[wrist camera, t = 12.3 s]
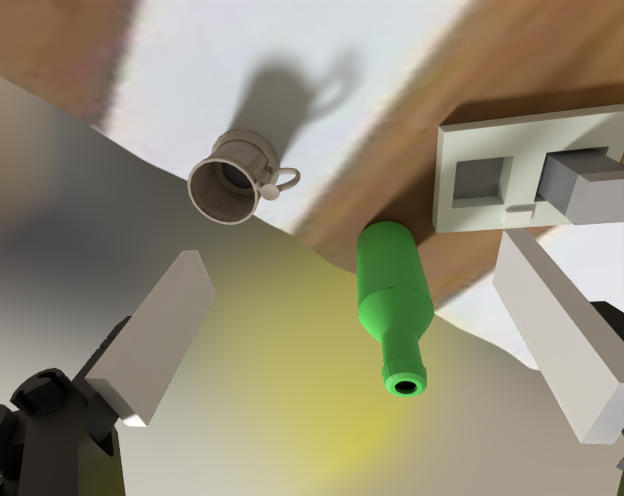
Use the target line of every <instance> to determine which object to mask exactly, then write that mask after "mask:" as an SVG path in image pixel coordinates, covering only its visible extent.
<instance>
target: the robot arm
mask: <svg viewBox="0 0 624 496" xmlns="http://www.w3.org/2000/svg"><path fill="white" fill-rule="evenodd" d="M492 283H493V285H494V287H495V289H496V290H497V292H498V294H499V296H500V298H501V299H502V301H503V303H504V305H505V307H506V309H507V310H508V312H509V314H510V316H511V318H512V319H513V321H514V323H515V325H516V327H517V329H518V330H519V332H520V334H521V336H522V338H523V339H524V341H525V343H526V345H527V347H528V349H529V350H530V352H531V354H532V356H533V358H534V359H535V361H536V363H537V365H538V367H539V369H540V370H541V372H542V374H543V376H544V378H545V379H546V381H547V383H548V385H549V387H550V389H551V390H552V392H553V394H554V396H555V398H556V399H557V401H558V403H559V405H560V407H561V408H562V410H563V412H564V414H565V416H566V417H567V419H568V421H569V423H570V425H571V427H572V428H573V430H574V432H575V434H576V436H577V438H578V439H579V441H580V443H590V444H613V443H614V442H615V441H616V440H617V438H618V437H619V436H620V435H621V433H622V434H623V435H624V313H623V312H622V311H620V310H619V309H617V308H615V307H614V306H612V305H610V304H609V303H607V302H606V301H596V302H589V301H588V300H587V299H586V298H585V297H584V295H583V294H582V293H581V292H580V291H579V290H578V289H577V287H576V286H575V285H574V284H573V283H572V282H571V280H570V279H569V278H568V277H567V276H566V275H565V274H564V272H563V271H562V270H561V269H560V268H559V267H558V265H557V264H556V263H555V262H554V261H553V260H552V259H551V257H550V256H549V255H548V254H547V253H546V252H545V250H544V249H543V248H542V247H541V246H540V245H539V244H538V242H537V241H536V240H535V239H534V238H533V237H532V235H531V234H530V233H529V232H528V231H527V230H526V229H525V228H520V229H505V230H504V231H503V236H502V240H501V245H500V250H499V254H498V259H497V264H496V268H495V273H494V278H493V282H492ZM215 295H216V293H215V290H214V288H213V286H212V283H211V281H210V279H209V276H208V274H207V271H206V269H205V267H204V264H203V262H202V260H201V258H200V255H199V252H198V250H191V251H182V252H181V254H180V255H179V256H178V257H177V259H176V260H175V261H174V263H173V264H172V265H171V266H170V268H169V269H168V270H167V272H166V273H165V274H164V276H163V277H162V278H161V280H160V281H159V282H158V283H157V285H156V286H155V287H154V289H153V290H152V291H151V292H150V294H149V295H148V296H147V298H146V299H145V300H144V302H143V303H142V304H141V305H140V307H139V308H138V309H137V311H136V312H135V313H134V314H133V316H128V317H126V318H125V319H124V320H123V321H121V322H120V323H119V324H118V325H116V326H115V328H114V329H113V330H112V331H111V333H110V334H109V335H108V336H107V339H105V340H104V341H103V343H102V344H101V345H100V348H99V349H97V350H96V351H95V353H94V354H93V355H92V356H91V358H90V359H89V360H88V361H87V363H86V364H85V366H83V368H82V369H81V370H80V371H79V373H78V374H77V375H76V376H75V378H74V379H73V380H72V381H70V380H69V378H68V377H67V376H66V375H65V374H64V373H63V372H62V371H61V370H59V369H57V368H52V369H46V370H44V371H41V372H38V373H37V374H35V375H33V376H32V377H30V378H28V379H27V380H26V381H25V382H24V383H22V384H21V385H20V386H19V387H18V389H17V390H16V391H15V392H14V393H13V395H12V397H11V399H10V402H11V403H13V404H14V405H15V406H16V407H17V408H19V409H20V410H18V411H14V412H12V411H11V410H10V409H9V408H7V407H6V406H5V405H2V404H0V496H126V495H125V487H124V479H123V471H122V463H121V456H120V448H119V440H118V432H117V430H116V428H115V427H114V424H115V423H116V421H117V420H118V418H119V417H120V418H121V419H122V420H123V422H124V423H125V424H126V425H127V426H141V427H147V426H148V424H149V422H150V420H151V418H152V416H153V415H154V413H155V411H156V409H157V407H158V405H159V403H160V401H161V399H162V397H163V395H164V393H165V391H166V390H167V388H168V386H169V384H170V382H171V380H172V378H173V376H174V374H175V372H176V370H177V368H178V366H179V364H180V363H181V361H182V359H183V357H184V355H185V353H186V351H187V349H188V347H189V345H190V343H191V341H192V339H193V337H194V336H195V334H196V332H197V330H198V328H199V326H200V324H201V322H202V320H203V318H204V316H205V314H206V312H207V310H208V309H209V307H210V305H211V303H212V301H213V299H214V297H215ZM616 467H617V468H619V469H620V470H622V469H623V468H624V457H623V459H622V460H621V461H620V462H619V464H618V465H617V466H616ZM617 496H624V469H623V473H622V477H621V481H620V485H619V489H618V493H617Z"/></svg>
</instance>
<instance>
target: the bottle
mask: <svg viewBox="0 0 624 496" xmlns="http://www.w3.org/2000/svg"><path fill="white" fill-rule="evenodd" d="M357 283H358V316H359V319H360V323H361V324H362V325H363V326H364V328H365V329H366V330H367V331H368V332H369V333H370V334H371V335H372V336H373V337H374V338H376V339H377V340H378V341H379V342H380V343H381V344H382V351H383V362H384V367H383V369H382V372H381V373H382V376H383V380H384V383H385V386H386V389H387V390H388V391H389V392H390V393H392V394H394V395H396V396H399V397H412V396H416V395H418V394H421V393H422V392H423V391H424V390H425V388H426V385H427V381H426V380H427V378H426V377H427V375H426V369H425V367H424V366H423V364H422V359H421V355H420V350H419V345H418V341H419V339H420V338H421V336H422V335H423V333H424V332H425V331H426V329H427V328H428V326H429V325H430V323H431V321H432V319H433V316H434V309H433V303H432V299H431V296H430V292H429V289H428V285H427V282H426V278H425V275H424V272H423V268H422V265H421V261H420V258H419V255H418V251H417V248H416V245H415V241H414V238H413V236H412V234H411V232H410V231H409V229H408V228H406V227H405V226H403V225H402V224H400V223H396V222H393V221H381V222H378V223H375V224H372V225H370V226H369V227H367V228H366V229H365V230H363V232H362V233H361V235H360V236H359V238H358V243H357Z"/></svg>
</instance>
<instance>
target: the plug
mask: <svg viewBox="0 0 624 496" xmlns="http://www.w3.org/2000/svg"><path fill="white" fill-rule="evenodd" d="M537 192H538V193H539V194H540V195H541V196H542V197H543V198H544V199H546V200H547V201H548V202H549V203H550V204H551V205H552V206H554V207H555V208H556V209H557V210H558V211H559V212H560V213H561V214H563V215H564V216H565V217H566V218H567V219H568V220H569V221H571V222H572V223H573V224H574V225H585V224H600V223H615V222H624V165H623V164H621V163H619V162H617V161H615V160H613V159H611V158H609V157H607V156H605V155H603V154H601V153H599V152H597V151H595V150H593V149H591V148H586V149H576V150H566V151H556V152H547V153H546V156H545V160H544V164H543V168H542V172H541V175H540V179H539V183H538V187H537Z"/></svg>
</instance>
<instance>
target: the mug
mask: <svg viewBox="0 0 624 496" xmlns="http://www.w3.org/2000/svg"><path fill="white" fill-rule="evenodd" d="M222 162H226V163H228V164H230V165H233V166H235V167H237V168H238V169H239V170H240V171H242V172H243V173H244V174H245V175H246V176H247V178H248V179H249V180H250V182H251V183H252V186H253V187H252V188H247V189H245V188H239V187H236V186H234V185H233V184H231V183H230V182H229V181H228V180H227V179H226V177H225V176H224V173H223V171H222ZM279 174H295V175H296V177H295V178H294V179H292V180H291V181H289V182H287V183H284V184H281V185H278V186H275V183H276V181H277V178H278V175H279ZM299 180H300V172H299V171H298V170H297V169H294V168H279V162H278V159H277V155H276V153H275V151H274V150H273V148H272V147H271V145H270V144H269V143H268V142H267V141H266V140H265V139H264V138H263V137H261V136H260V135H258V134H256V133H253V132H251V131H247V130H234V131H229V132H227V133H225V134H224V135H222V136H221V137H219V138H218V140H217V141H216V143H215V144H214V146H213V149H212V154H211V155H210V156H209V157H208V158H207V159H204V160H203V161H201V162H200V163H198V164H197V165H196V166H195V167H194V168H193V170H192V171H191V173H190V174H189V179H188V184H187V185H188V191H189V195H190V198H191V200H192V202H193V204H194V205H195V206H196V207H197V209H198V210H199V211H200V212H201V213H202V214H203V215H205V216H206V217H208V218H209V219H211V220H213V221H216V222H218V223H221V224H229V225H232V224H238V223H241V222H243V221H245V220H247V219H249V218H250V217H251V215H252V214H253V213H254V212H255V210H256V207H257V205H258V202H259V199H260V197H261V195H262V197H263V198H264V199H266V200H275V199H277V198H278V196H279V194H280V192H281V191H284V190H287V189H289V188H291V187H293V186H295V185H296V184H297V183H298V182H299Z"/></svg>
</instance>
